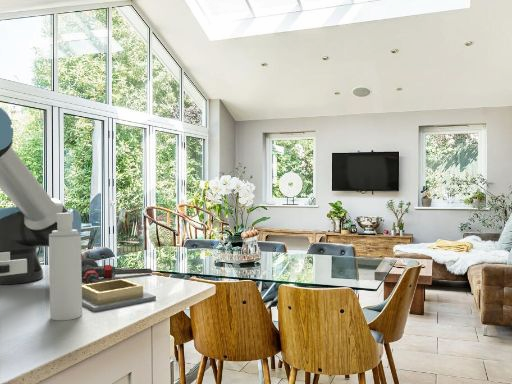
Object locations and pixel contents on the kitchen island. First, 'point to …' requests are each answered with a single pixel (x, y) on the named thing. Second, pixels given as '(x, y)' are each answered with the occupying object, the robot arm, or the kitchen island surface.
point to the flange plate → (113, 294)
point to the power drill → (104, 271)
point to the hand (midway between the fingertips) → (17, 261)
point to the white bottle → (65, 270)
